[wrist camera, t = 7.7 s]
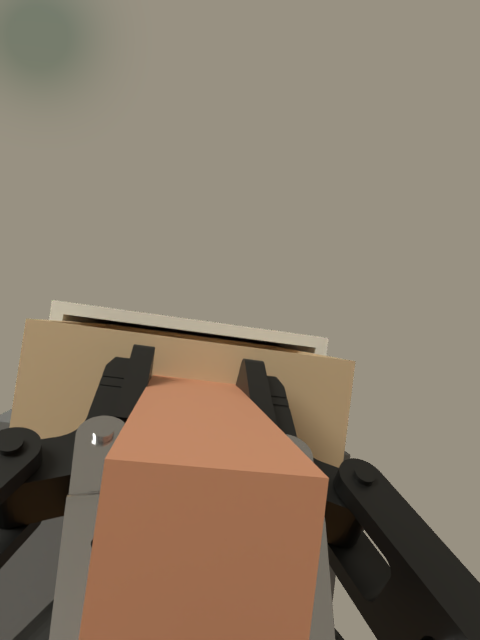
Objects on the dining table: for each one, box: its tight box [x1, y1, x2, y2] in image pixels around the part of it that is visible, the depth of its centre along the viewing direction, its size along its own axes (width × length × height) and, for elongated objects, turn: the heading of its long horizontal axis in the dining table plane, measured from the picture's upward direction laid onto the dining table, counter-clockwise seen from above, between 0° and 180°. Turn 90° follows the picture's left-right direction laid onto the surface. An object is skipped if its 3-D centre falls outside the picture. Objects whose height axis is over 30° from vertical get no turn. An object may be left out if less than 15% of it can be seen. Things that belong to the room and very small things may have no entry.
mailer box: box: [49, 300, 328, 356], centre depth 27 cm, size 14×14×6 cm
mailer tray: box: [9, 319, 355, 640], centre depth 17 cm, size 12×22×4 cm, turn 8°
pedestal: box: [0, 409, 350, 640], centre depth 27 cm, size 18×14×30 cm
